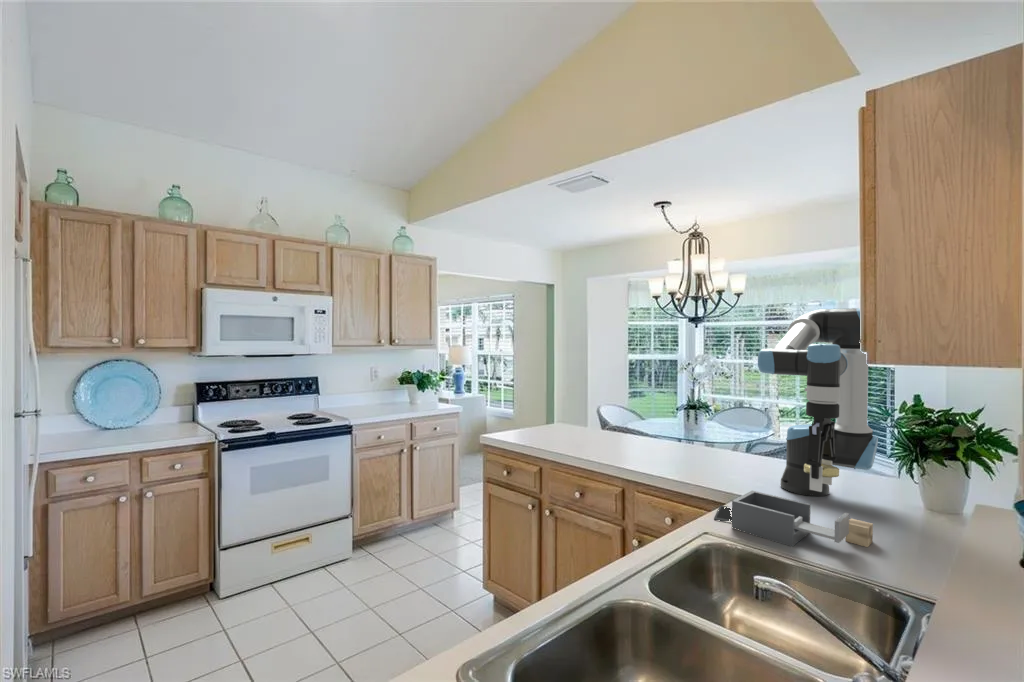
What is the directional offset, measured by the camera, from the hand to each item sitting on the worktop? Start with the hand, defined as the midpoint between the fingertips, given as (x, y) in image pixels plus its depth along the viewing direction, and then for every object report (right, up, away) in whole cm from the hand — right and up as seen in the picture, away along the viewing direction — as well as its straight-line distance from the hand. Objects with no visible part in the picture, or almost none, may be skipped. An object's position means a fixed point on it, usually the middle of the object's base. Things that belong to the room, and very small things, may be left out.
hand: (820, 486), depth 132 cm
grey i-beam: (-1, -12, +1) cm, 12 cm away
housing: (-9, -15, +9) cm, 20 cm away
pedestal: (+12, -15, +2) cm, 19 cm away
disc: (0, +4, 0) cm, 4 cm away
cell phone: (-15, -15, +21) cm, 30 cm away
